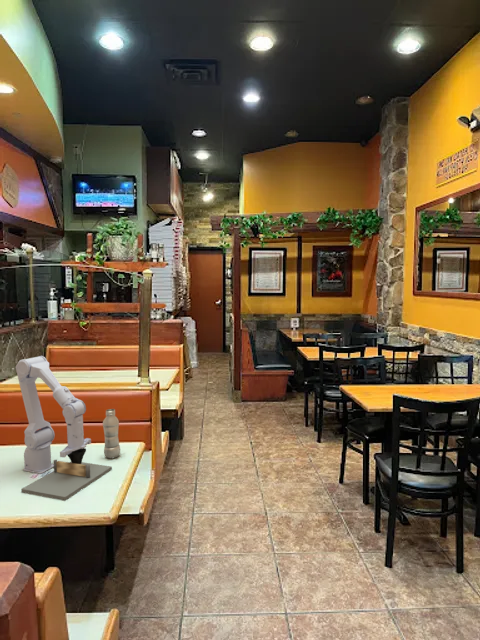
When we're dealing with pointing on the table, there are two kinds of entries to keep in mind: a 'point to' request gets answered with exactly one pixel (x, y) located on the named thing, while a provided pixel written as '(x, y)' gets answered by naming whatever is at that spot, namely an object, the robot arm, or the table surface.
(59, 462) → the board
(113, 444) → the plastic bottle
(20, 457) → the table surface
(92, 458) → the table surface
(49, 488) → the gate board
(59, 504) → the table surface
